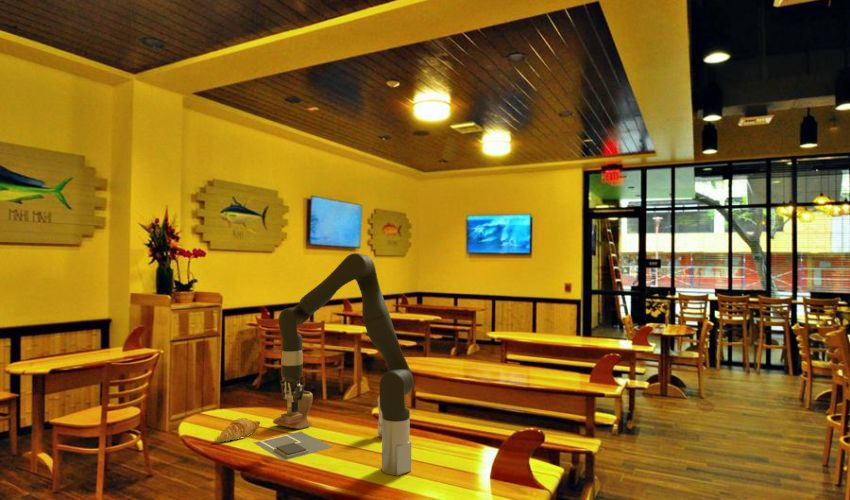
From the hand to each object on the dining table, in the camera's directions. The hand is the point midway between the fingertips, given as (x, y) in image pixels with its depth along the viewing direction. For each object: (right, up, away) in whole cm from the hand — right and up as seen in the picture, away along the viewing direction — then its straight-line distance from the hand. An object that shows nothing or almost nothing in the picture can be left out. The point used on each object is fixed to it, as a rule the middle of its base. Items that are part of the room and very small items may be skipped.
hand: (291, 410), depth 186 cm
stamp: (0, -4, 0) cm, 4 cm away
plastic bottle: (+32, -17, +19) cm, 41 cm away
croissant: (-26, -16, +19) cm, 36 cm away
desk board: (-1, -16, +7) cm, 17 cm away
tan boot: (-7, -17, +32) cm, 36 cm away
